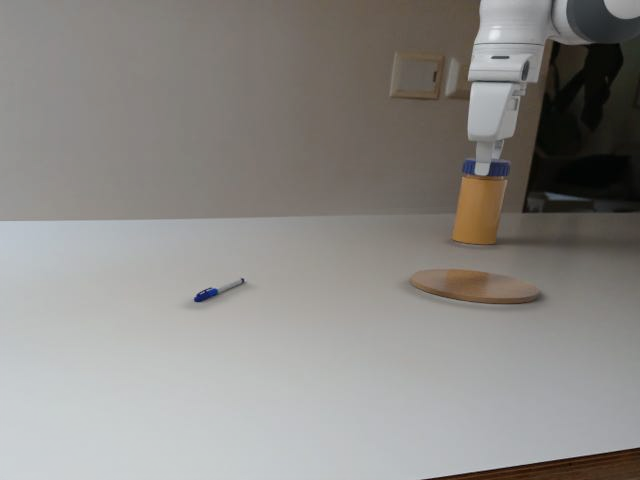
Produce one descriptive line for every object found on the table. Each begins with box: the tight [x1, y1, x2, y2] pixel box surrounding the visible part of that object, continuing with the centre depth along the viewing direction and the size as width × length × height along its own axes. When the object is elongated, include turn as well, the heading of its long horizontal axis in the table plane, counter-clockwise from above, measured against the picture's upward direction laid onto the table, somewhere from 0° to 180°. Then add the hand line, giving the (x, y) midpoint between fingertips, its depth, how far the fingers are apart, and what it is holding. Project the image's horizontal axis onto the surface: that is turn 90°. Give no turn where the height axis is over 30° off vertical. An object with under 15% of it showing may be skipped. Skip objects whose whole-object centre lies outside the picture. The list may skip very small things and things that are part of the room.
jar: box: [451, 174, 508, 246], centre depth 107 cm, size 6×6×11 cm
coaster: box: [410, 268, 540, 305], centre depth 81 cm, size 13×13×1 cm
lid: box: [461, 157, 512, 177], centre depth 105 cm, size 6×6×2 cm
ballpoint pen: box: [193, 277, 245, 303], centre depth 76 cm, size 10×1×1 cm, turn 150°
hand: (485, 173), depth 105 cm, fingers closed on lid, 6 cm apart
